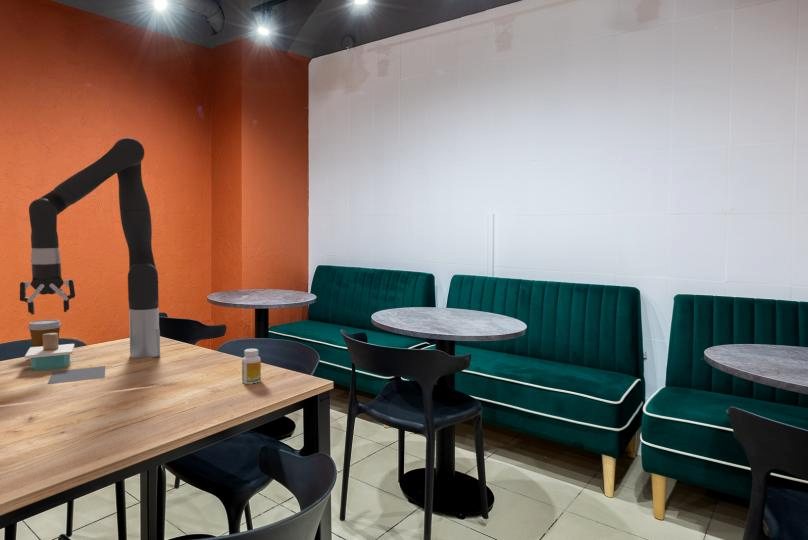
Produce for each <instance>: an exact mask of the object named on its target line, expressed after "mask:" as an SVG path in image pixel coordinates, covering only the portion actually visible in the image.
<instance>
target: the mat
mask: <svg viewBox="0 0 808 540" xmlns="http://www.w3.org/2000/svg"><path fill="white" fill-rule="evenodd" d="M105 378H106V366H105V365H103V366H101V365H100V366H94V367H93V366H91V367H84V368H83V367H82V368H74V369H64V370H56V371H54V370H53V371H52V372H51V374H50V376H49V380H48V382H47V385H54V384H55V385H56V384H62V383H71V382H80V381H88V380H96V379H105Z"/></svg>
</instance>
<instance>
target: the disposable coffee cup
mask: <svg viewBox="0 0 808 540" xmlns="http://www.w3.org/2000/svg"><path fill="white" fill-rule="evenodd" d="M61 326H62V323H61V320H59V319H41V320H40V319H39V320H32V321H30V322H29V323H28V326H27V328H28V330H29V334H30V338H31V343H32V347H41V346H43V334H46V333H58V341H59V340H60V338H59V337H60V332H61V331H60V329H61Z"/></svg>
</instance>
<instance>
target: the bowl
mask: <svg viewBox="0 0 808 540" xmlns="http://www.w3.org/2000/svg"><path fill="white" fill-rule="evenodd" d="M70 364H71V354H67V355H56V356H46V357H35V358H30V366H31V370H34V371H51V370H58V369H62V368H65V367H68V366H70Z"/></svg>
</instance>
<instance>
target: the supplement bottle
mask: <svg viewBox="0 0 808 540" xmlns="http://www.w3.org/2000/svg"><path fill="white" fill-rule="evenodd" d="M243 351H244V352H243V353H244V357H243V358H242V359H241V380H242V383H243V384H245V385H254V384H253V383H256V384H258V383H260V382H261V381H262V376H261V375H262V369H261V368H262V365H261V363H262V360H261V359H262V358H261V357H260V356H259V349H257V348H246V349H245V350H243ZM257 382H258V383H257Z"/></svg>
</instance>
